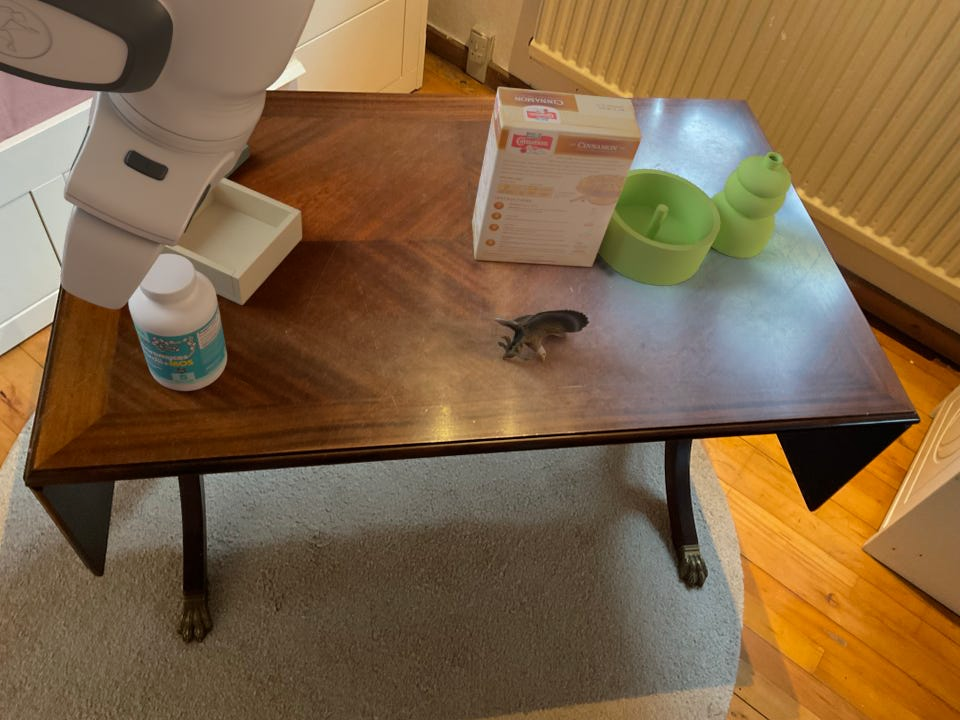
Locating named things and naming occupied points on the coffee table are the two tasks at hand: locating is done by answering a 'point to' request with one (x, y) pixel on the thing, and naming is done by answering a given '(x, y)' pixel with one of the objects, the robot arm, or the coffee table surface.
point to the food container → (692, 220)
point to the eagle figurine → (539, 330)
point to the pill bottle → (179, 324)
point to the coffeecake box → (552, 176)
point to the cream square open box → (238, 239)
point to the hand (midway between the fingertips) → (130, 227)
